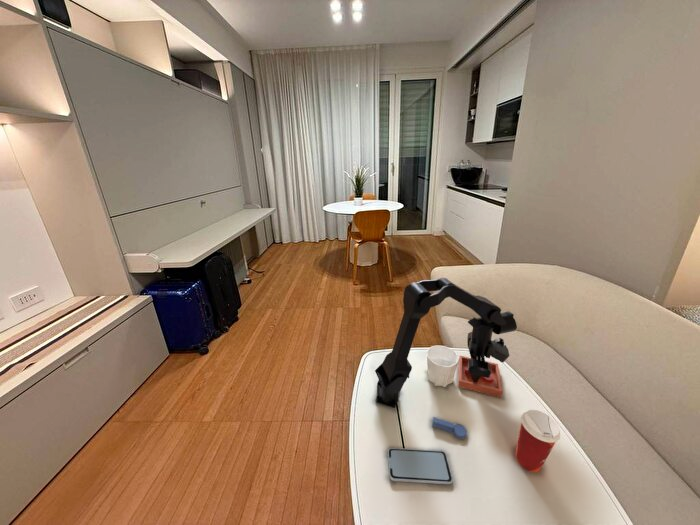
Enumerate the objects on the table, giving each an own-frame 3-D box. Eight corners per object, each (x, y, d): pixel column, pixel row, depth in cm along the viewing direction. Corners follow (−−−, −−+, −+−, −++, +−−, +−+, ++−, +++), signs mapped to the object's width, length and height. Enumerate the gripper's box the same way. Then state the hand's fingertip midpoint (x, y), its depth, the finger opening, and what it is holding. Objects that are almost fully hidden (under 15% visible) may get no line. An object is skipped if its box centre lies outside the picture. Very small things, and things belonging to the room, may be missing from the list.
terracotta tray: (458, 386, 89) (459, 380, 88) (458, 360, 100) (459, 355, 99) (500, 397, 84) (502, 391, 83) (496, 369, 95) (497, 363, 94)
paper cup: (552, 480, 63) (569, 441, 58) (516, 473, 65) (530, 435, 59) (537, 447, 70) (551, 409, 65) (506, 441, 72) (517, 404, 66)
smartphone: (453, 483, 63) (389, 479, 63) (453, 485, 63) (389, 481, 64) (445, 450, 69) (387, 447, 70) (444, 453, 70) (387, 449, 71)
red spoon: (464, 376, 92) (465, 372, 91) (464, 369, 95) (465, 364, 94) (493, 384, 89) (494, 379, 88) (492, 376, 92) (493, 371, 91)
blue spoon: (431, 430, 75) (432, 424, 75) (433, 418, 78) (433, 413, 78) (466, 441, 72) (467, 435, 71) (466, 429, 75) (467, 423, 74)
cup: (425, 386, 89) (427, 364, 85) (424, 365, 98) (426, 343, 94) (456, 391, 87) (460, 368, 83) (452, 369, 96) (456, 347, 92)
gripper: (514, 361, 75) (504, 400, 81) (505, 323, 91) (497, 359, 97) (471, 352, 79) (464, 390, 85) (470, 317, 95) (464, 352, 101)
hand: (474, 372), depth 92 cm, fingers open, 9 cm apart
